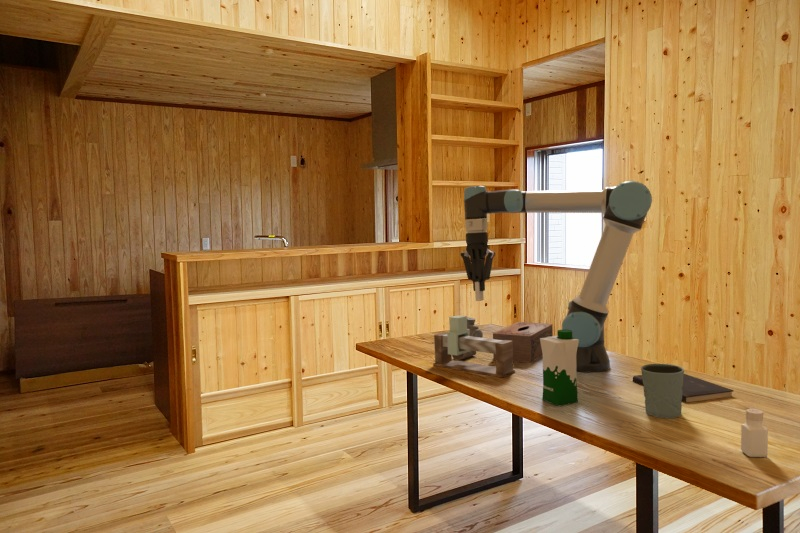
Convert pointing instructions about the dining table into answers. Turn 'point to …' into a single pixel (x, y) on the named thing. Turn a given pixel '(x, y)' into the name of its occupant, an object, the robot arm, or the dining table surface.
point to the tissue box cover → (525, 339)
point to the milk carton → (560, 368)
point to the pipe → (464, 355)
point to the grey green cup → (663, 389)
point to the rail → (477, 368)
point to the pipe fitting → (473, 328)
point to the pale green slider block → (456, 334)
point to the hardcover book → (696, 389)
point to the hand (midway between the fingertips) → (479, 300)
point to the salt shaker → (754, 434)
